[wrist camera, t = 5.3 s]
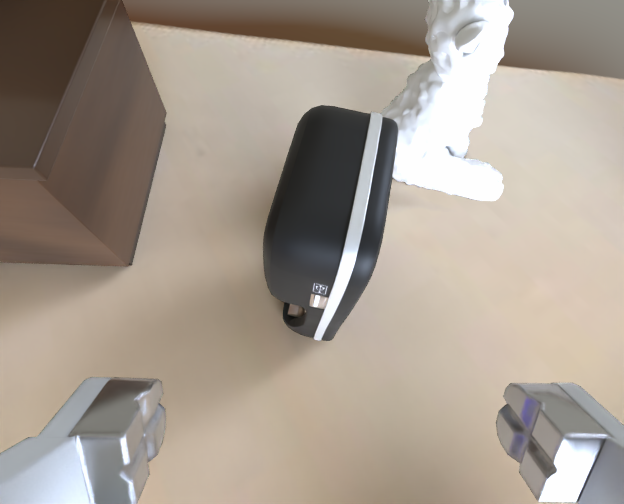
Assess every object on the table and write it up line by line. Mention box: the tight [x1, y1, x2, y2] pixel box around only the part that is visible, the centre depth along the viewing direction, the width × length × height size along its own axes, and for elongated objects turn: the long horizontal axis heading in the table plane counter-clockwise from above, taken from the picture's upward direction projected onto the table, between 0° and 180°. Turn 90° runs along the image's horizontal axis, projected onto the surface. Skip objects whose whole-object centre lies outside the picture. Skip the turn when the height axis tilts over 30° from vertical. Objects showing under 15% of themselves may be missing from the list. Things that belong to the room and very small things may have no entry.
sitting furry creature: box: [381, 0, 514, 201], centre depth 21 cm, size 10×9×12 cm
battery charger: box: [263, 105, 398, 341], centre depth 16 cm, size 7×4×11 cm, turn 167°
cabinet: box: [0, 0, 166, 266], centre depth 19 cm, size 13×13×10 cm
